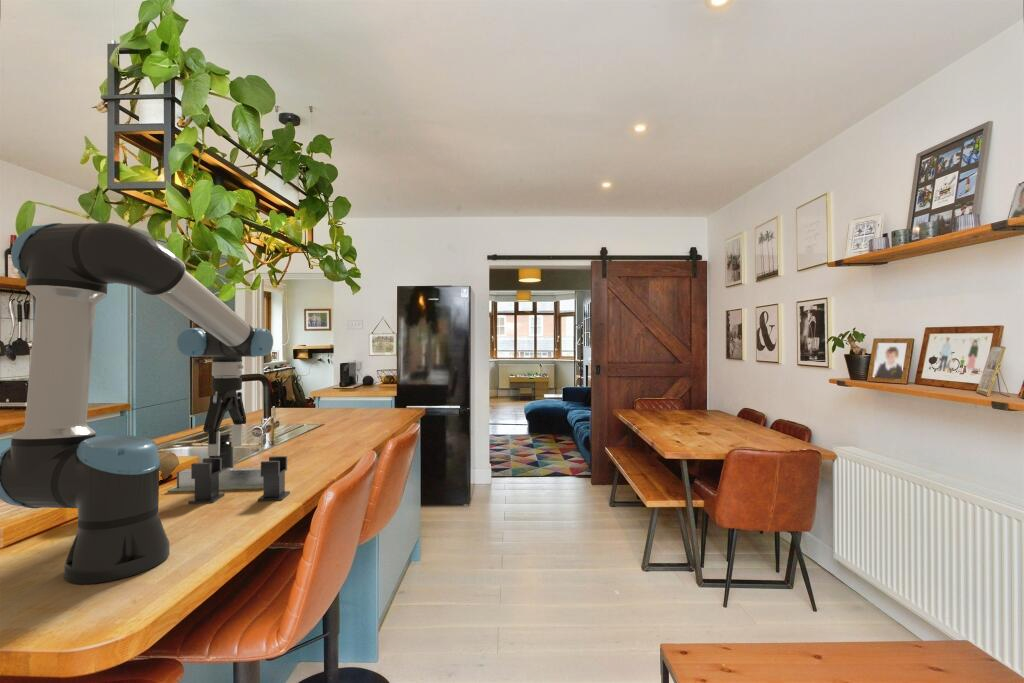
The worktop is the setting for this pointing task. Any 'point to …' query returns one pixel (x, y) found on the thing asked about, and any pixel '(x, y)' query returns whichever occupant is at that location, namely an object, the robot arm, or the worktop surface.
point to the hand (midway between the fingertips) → (225, 450)
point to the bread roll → (167, 463)
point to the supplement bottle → (225, 451)
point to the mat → (219, 488)
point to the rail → (225, 477)
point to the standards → (211, 467)
